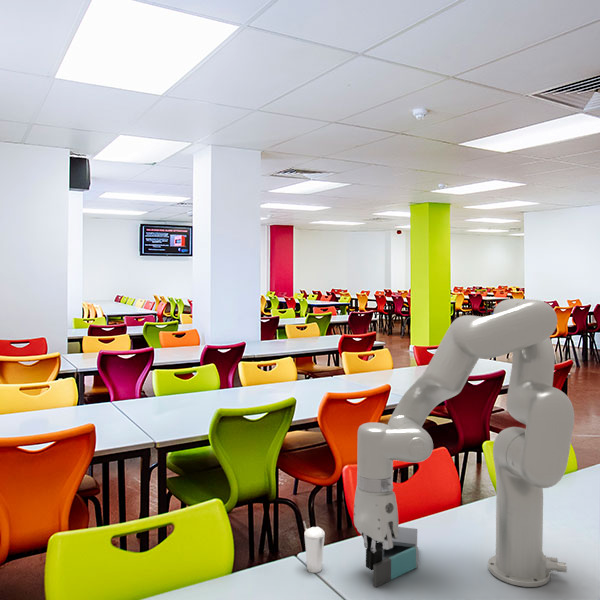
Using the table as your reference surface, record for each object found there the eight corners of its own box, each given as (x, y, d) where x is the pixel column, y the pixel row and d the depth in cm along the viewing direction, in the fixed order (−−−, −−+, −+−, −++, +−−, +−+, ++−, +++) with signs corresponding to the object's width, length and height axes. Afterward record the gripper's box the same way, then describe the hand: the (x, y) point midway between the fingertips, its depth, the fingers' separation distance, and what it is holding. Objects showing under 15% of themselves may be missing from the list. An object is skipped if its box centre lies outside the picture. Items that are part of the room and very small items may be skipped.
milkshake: (309, 561, 125) (309, 517, 125) (328, 568, 122) (328, 524, 122) (297, 568, 122) (297, 524, 122) (316, 577, 118) (316, 531, 118)
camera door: (415, 564, 123) (415, 545, 123) (418, 566, 122) (418, 547, 122) (372, 585, 115) (372, 564, 115) (376, 587, 114) (376, 566, 114)
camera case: (417, 549, 131) (417, 526, 131) (415, 566, 123) (415, 541, 123) (383, 545, 133) (383, 522, 133) (379, 561, 125) (379, 537, 125)
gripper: (412, 490, 113) (411, 578, 113) (366, 469, 125) (366, 548, 126) (384, 497, 109) (383, 588, 109) (340, 475, 121) (339, 557, 122)
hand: (374, 567), depth 117 cm, fingers closed
